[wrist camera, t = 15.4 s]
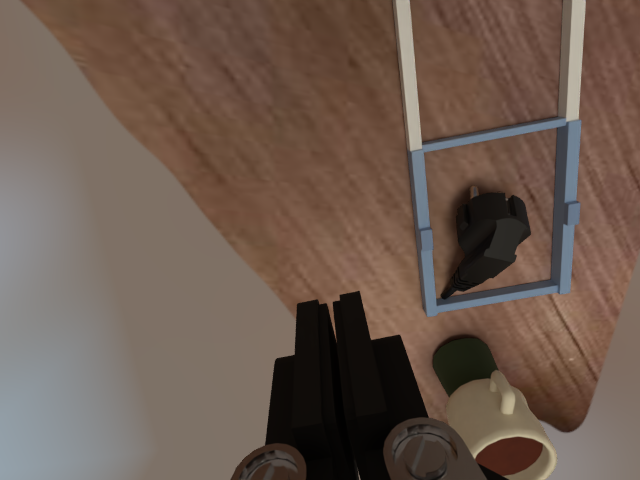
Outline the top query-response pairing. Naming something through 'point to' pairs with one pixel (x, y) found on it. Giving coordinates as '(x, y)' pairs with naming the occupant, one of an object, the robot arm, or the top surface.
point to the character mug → (492, 413)
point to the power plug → (487, 237)
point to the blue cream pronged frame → (566, 138)
